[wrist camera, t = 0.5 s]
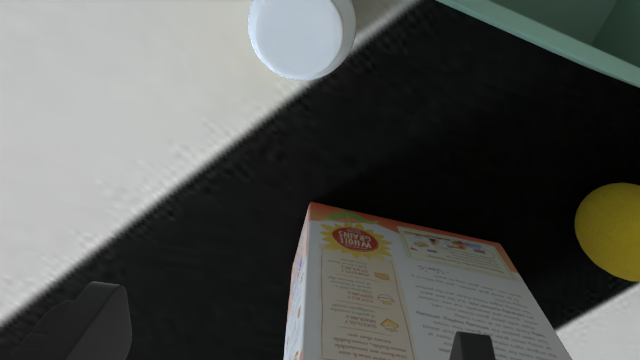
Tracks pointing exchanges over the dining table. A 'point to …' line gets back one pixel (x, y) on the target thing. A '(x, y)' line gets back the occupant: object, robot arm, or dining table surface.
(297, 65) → the supplement bottle
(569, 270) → the dining table surface
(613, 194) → the lemon
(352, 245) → the cracker box
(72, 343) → the robot arm
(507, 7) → the open storage box
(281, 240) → the dining table surface
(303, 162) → the dining table surface
